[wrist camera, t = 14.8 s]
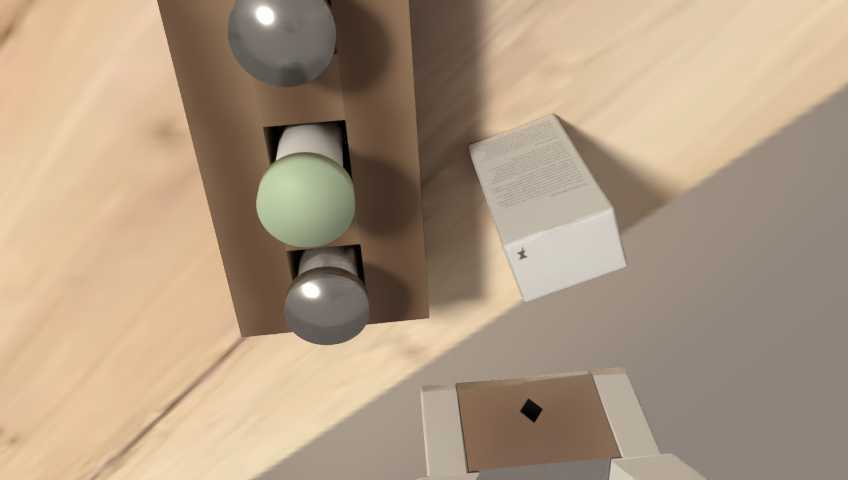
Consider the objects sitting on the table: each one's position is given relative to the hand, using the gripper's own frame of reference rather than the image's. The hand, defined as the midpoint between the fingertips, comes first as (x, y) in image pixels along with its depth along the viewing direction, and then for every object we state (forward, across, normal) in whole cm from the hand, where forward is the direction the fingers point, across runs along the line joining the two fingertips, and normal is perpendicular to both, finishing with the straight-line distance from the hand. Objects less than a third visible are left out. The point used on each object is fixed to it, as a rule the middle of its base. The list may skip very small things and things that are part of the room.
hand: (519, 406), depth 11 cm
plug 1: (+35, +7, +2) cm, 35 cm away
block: (+35, +7, +10) cm, 37 cm away
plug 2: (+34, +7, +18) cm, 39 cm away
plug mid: (+33, +7, +10) cm, 35 cm away
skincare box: (+35, -6, +14) cm, 39 cm away
